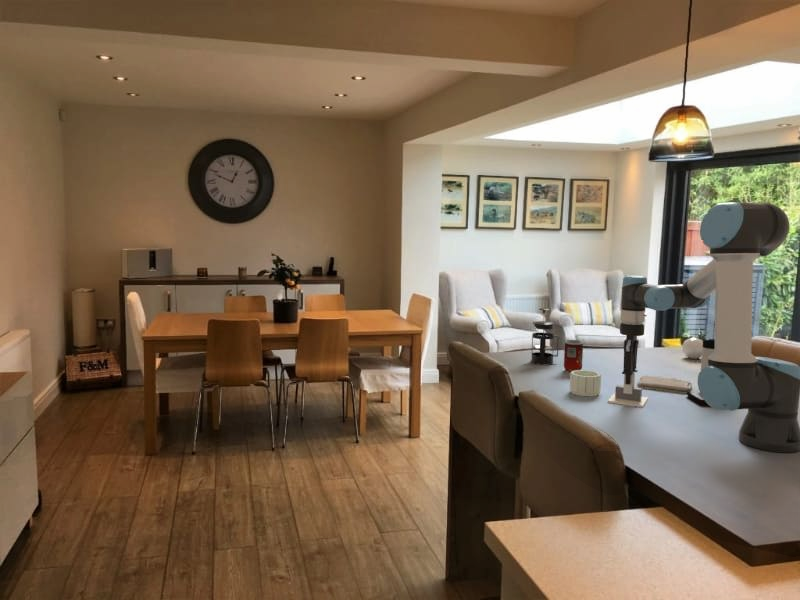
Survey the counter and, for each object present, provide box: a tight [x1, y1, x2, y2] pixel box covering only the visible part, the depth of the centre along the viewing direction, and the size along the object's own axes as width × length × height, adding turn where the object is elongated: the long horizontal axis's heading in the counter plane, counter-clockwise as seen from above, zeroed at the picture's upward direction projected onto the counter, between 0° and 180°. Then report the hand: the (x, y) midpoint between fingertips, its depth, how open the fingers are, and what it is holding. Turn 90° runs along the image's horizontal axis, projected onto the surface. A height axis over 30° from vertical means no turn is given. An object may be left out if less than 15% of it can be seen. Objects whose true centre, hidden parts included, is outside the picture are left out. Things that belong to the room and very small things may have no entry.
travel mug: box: [700, 338, 715, 371], centre depth 222 cm, size 6×7×20 cm
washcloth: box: [636, 375, 693, 394], centre depth 233 cm, size 12×18×3 cm, turn 63°
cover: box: [607, 384, 649, 408], centre depth 214 cm, size 11×11×5 cm
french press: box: [530, 307, 560, 365], centre depth 271 cm, size 12×9×23 cm
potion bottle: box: [681, 337, 703, 360], centre depth 281 cm, size 9×10×15 cm
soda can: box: [563, 339, 584, 373], centre depth 255 cm, size 7×7×12 cm
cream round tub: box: [569, 369, 602, 397], centre depth 224 cm, size 10×10×7 cm
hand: (628, 392), depth 214 cm, fingers closed on cover, 2 cm apart
